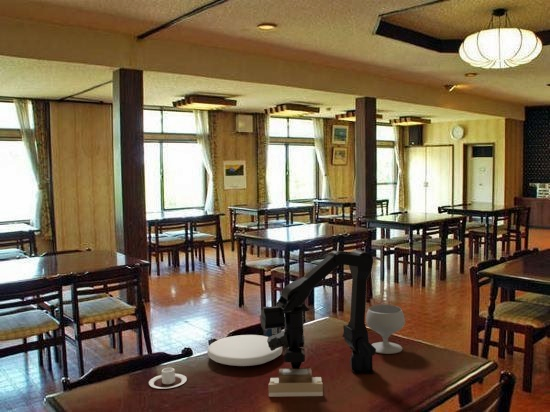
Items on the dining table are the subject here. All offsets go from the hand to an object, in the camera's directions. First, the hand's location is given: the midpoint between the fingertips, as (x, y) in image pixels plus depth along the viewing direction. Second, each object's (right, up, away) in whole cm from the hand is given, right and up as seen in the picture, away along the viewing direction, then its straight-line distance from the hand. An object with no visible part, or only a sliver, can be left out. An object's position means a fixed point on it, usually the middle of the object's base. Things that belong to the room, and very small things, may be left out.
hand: (295, 373), depth 167 cm
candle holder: (-41, -4, +3) cm, 41 cm away
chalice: (+34, 0, +27) cm, 43 cm away
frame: (0, -1, -5) cm, 5 cm away
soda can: (-7, 0, +41) cm, 42 cm away
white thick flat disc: (-17, -2, +23) cm, 28 cm away
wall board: (0, -3, -6) cm, 6 cm away
